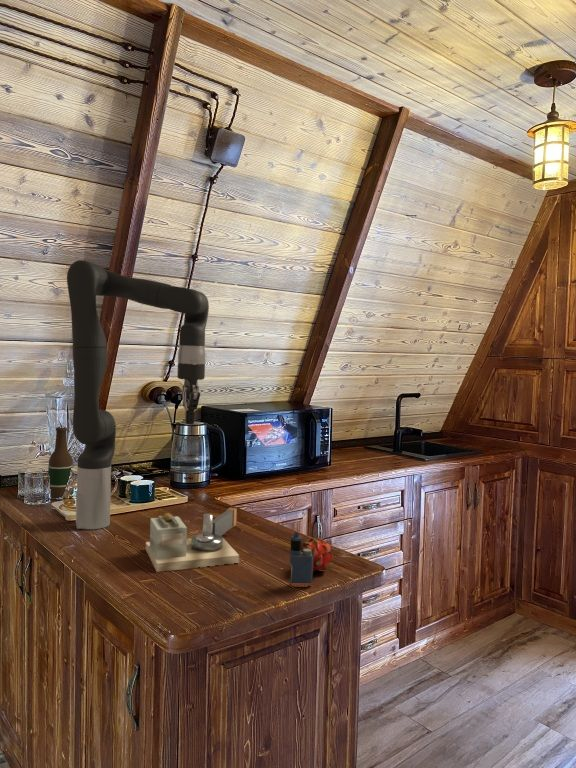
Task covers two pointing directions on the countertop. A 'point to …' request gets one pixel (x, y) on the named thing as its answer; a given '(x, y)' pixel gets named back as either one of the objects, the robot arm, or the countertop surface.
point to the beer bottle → (59, 464)
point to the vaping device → (300, 561)
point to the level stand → (181, 547)
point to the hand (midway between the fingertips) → (189, 424)
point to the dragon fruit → (318, 552)
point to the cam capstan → (214, 531)
